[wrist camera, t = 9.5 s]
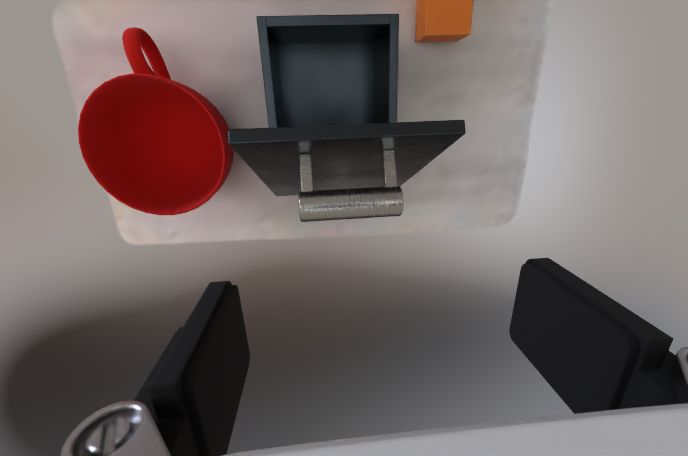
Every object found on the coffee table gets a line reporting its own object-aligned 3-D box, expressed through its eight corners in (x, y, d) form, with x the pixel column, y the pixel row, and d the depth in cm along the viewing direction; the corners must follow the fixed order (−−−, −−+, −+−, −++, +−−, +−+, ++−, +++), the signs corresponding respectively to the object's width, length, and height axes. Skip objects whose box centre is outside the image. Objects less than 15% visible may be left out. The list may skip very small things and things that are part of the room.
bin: (269, 37, 36) (256, 16, 27) (380, 35, 37) (399, 13, 28) (283, 175, 41) (276, 191, 33) (379, 170, 42) (395, 184, 34)
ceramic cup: (228, 39, 35) (197, 13, 26) (255, 186, 41) (238, 209, 32) (108, 47, 35) (32, 25, 25) (154, 196, 41) (106, 222, 31)
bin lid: (227, 128, 16) (231, 221, 16) (465, 119, 17) (473, 207, 17) (275, 188, 33) (278, 235, 32) (395, 182, 33) (399, 227, 33)
